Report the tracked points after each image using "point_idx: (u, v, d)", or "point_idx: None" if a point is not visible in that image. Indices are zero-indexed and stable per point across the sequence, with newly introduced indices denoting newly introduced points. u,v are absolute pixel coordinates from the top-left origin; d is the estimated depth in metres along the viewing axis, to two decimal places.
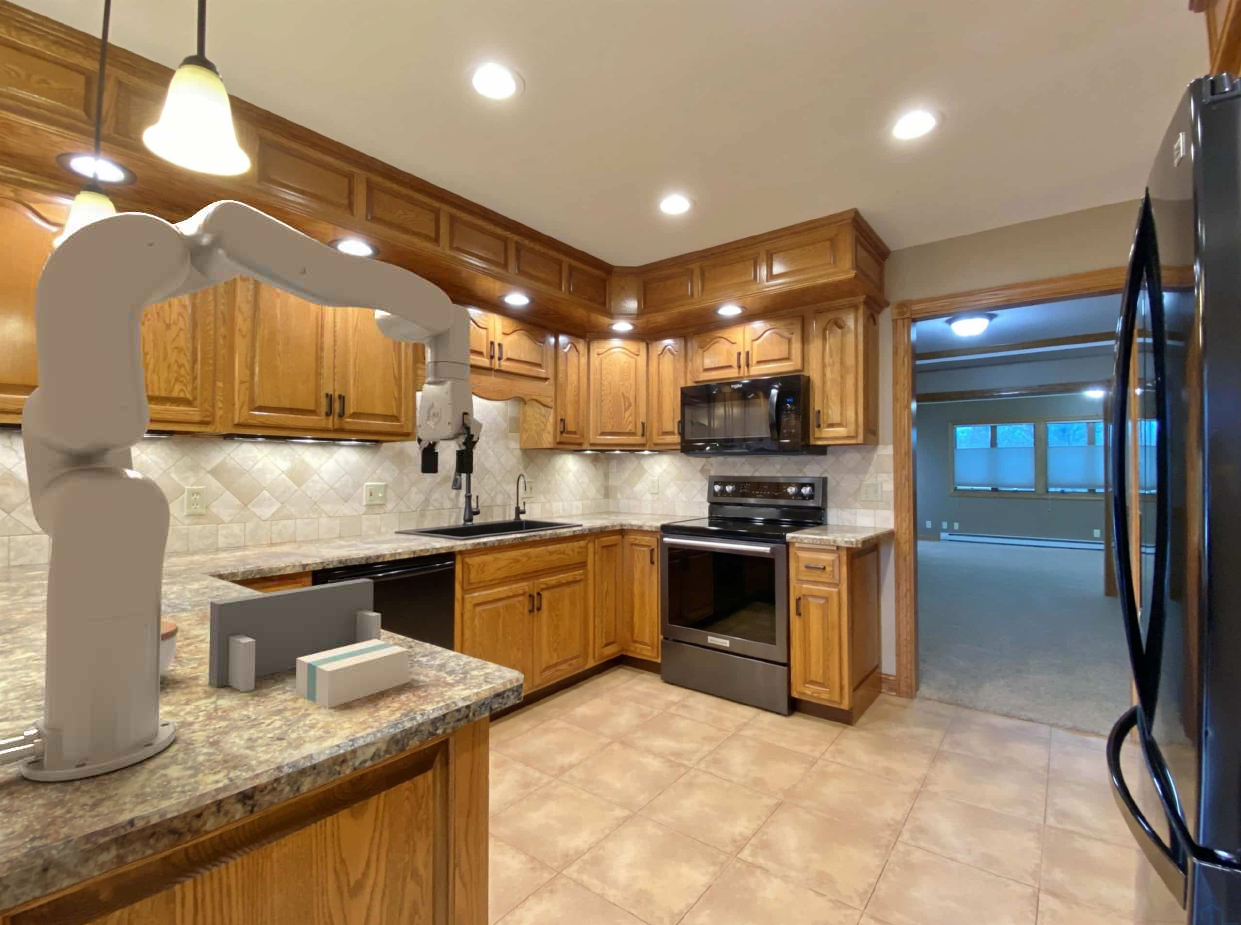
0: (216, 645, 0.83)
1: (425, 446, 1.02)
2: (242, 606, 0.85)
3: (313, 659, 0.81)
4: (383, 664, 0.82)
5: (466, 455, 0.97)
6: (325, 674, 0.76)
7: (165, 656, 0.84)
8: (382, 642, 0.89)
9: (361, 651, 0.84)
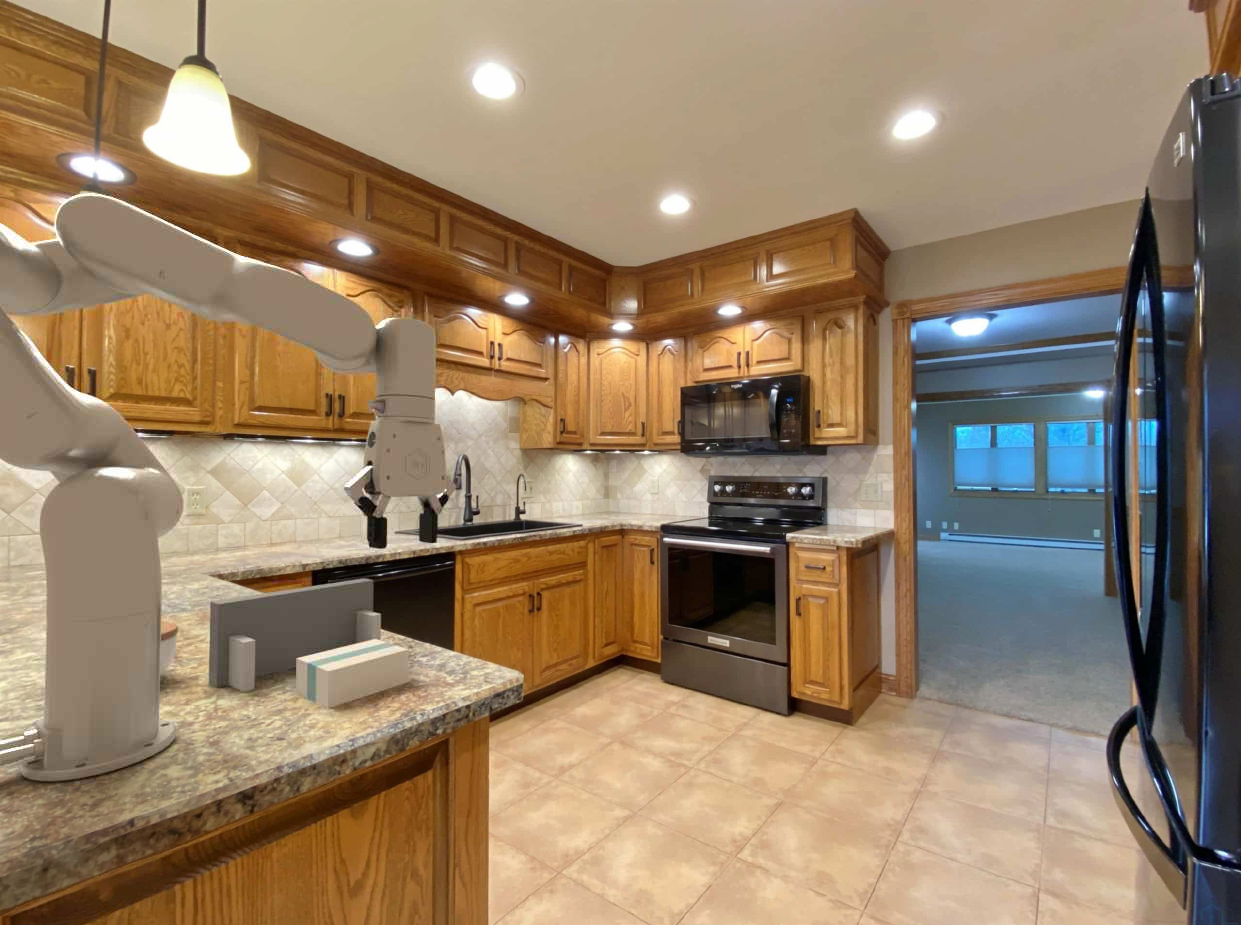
0: (216, 645, 0.83)
1: None
2: (242, 606, 0.85)
3: (313, 659, 0.81)
4: (383, 664, 0.82)
5: None
6: (325, 674, 0.76)
7: (165, 656, 0.84)
8: (382, 642, 0.89)
9: (361, 651, 0.84)
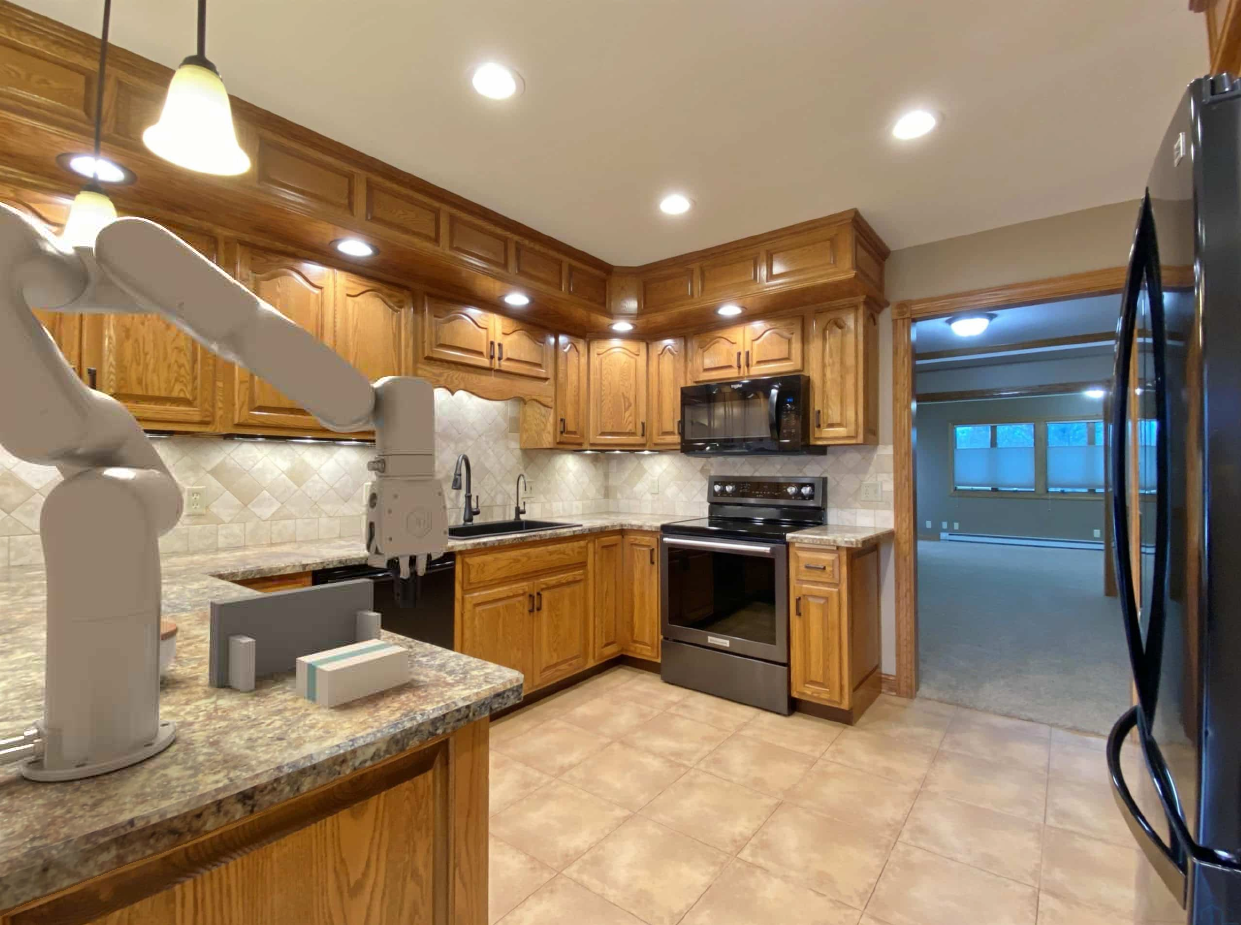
0: (216, 645, 0.83)
1: None
2: (242, 606, 0.85)
3: (313, 659, 0.81)
4: (383, 664, 0.82)
5: None
6: (325, 674, 0.76)
7: (165, 656, 0.84)
8: (382, 642, 0.89)
9: (361, 651, 0.84)
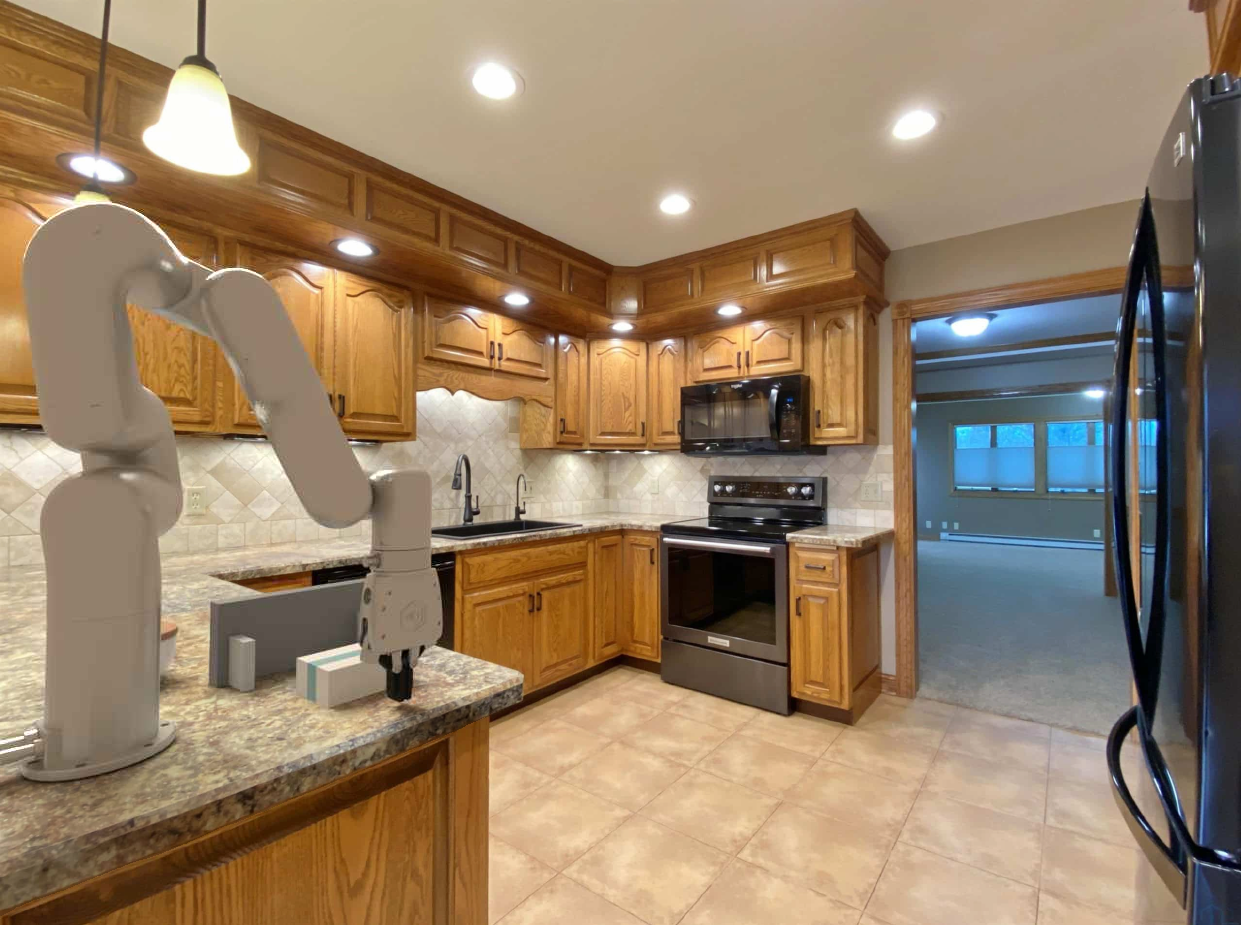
0: (216, 645, 0.83)
1: None
2: (242, 606, 0.85)
3: (313, 659, 0.81)
4: None
5: None
6: (325, 674, 0.76)
7: (165, 656, 0.84)
8: None
9: None
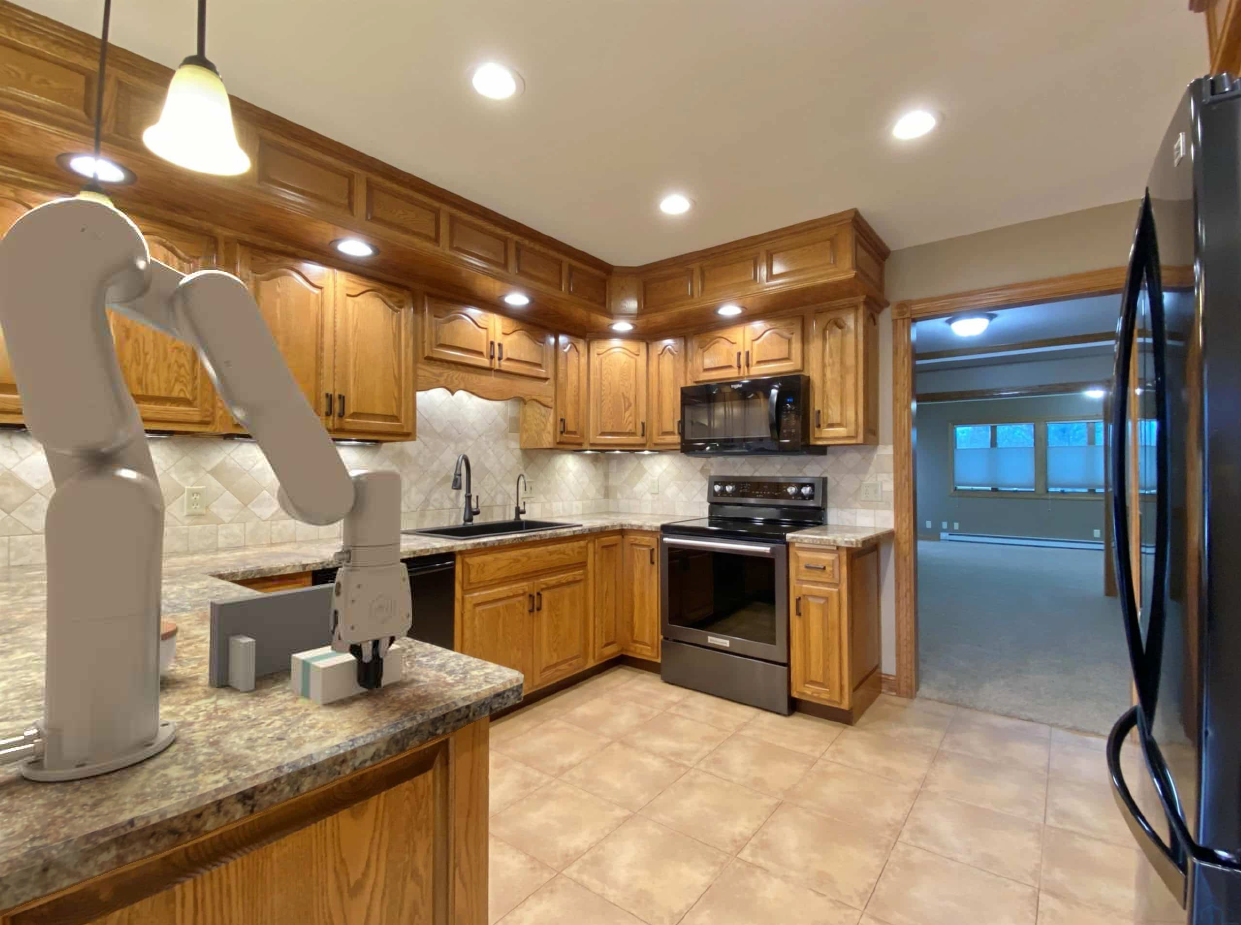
0: (216, 645, 0.83)
1: (370, 650, 0.80)
2: (242, 606, 0.85)
3: (307, 656, 0.82)
4: None
5: None
6: (319, 671, 0.77)
7: (165, 656, 0.84)
8: None
9: None
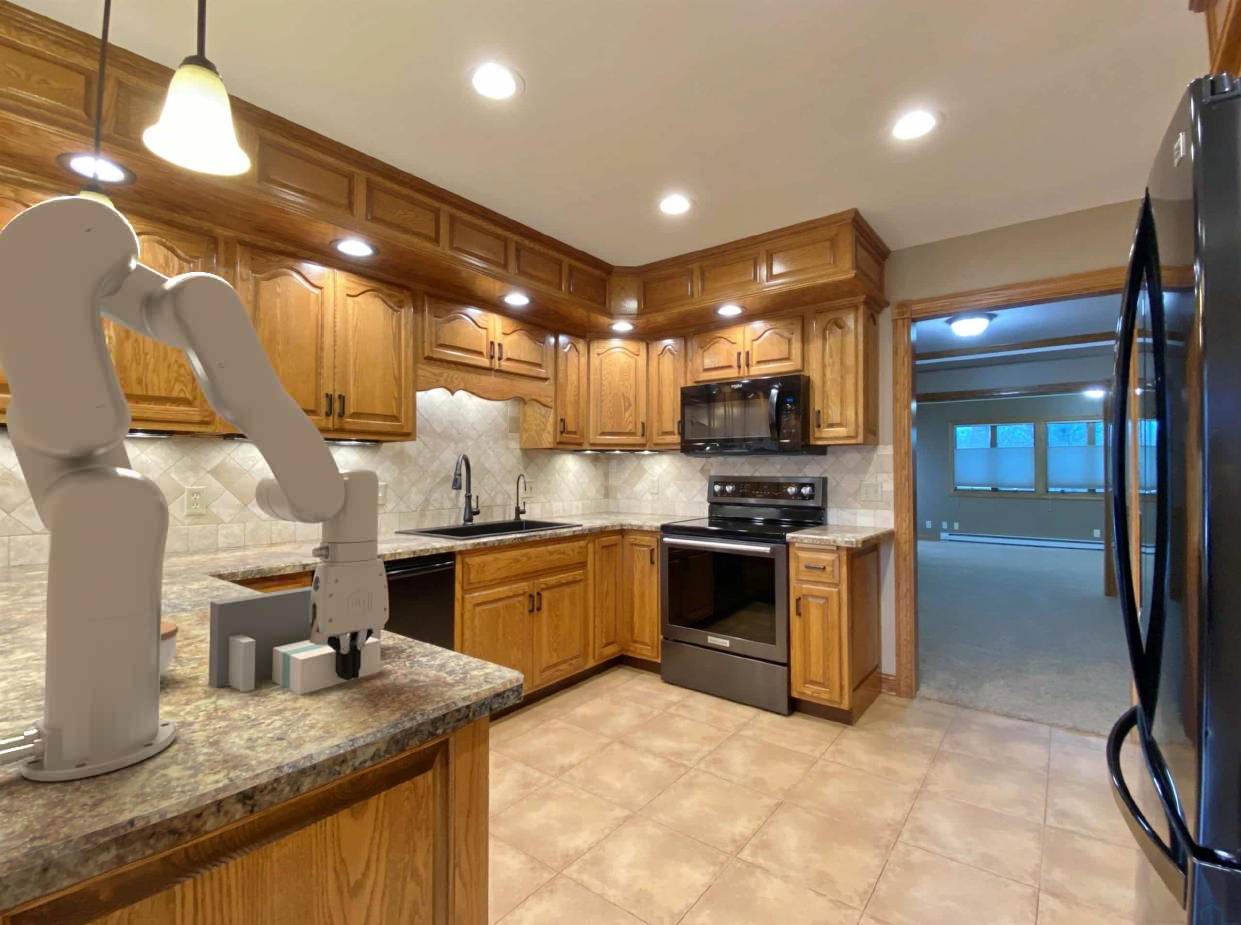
0: (216, 645, 0.83)
1: None
2: (242, 606, 0.85)
3: (288, 648, 0.85)
4: None
5: None
6: (298, 662, 0.81)
7: (165, 656, 0.84)
8: None
9: None
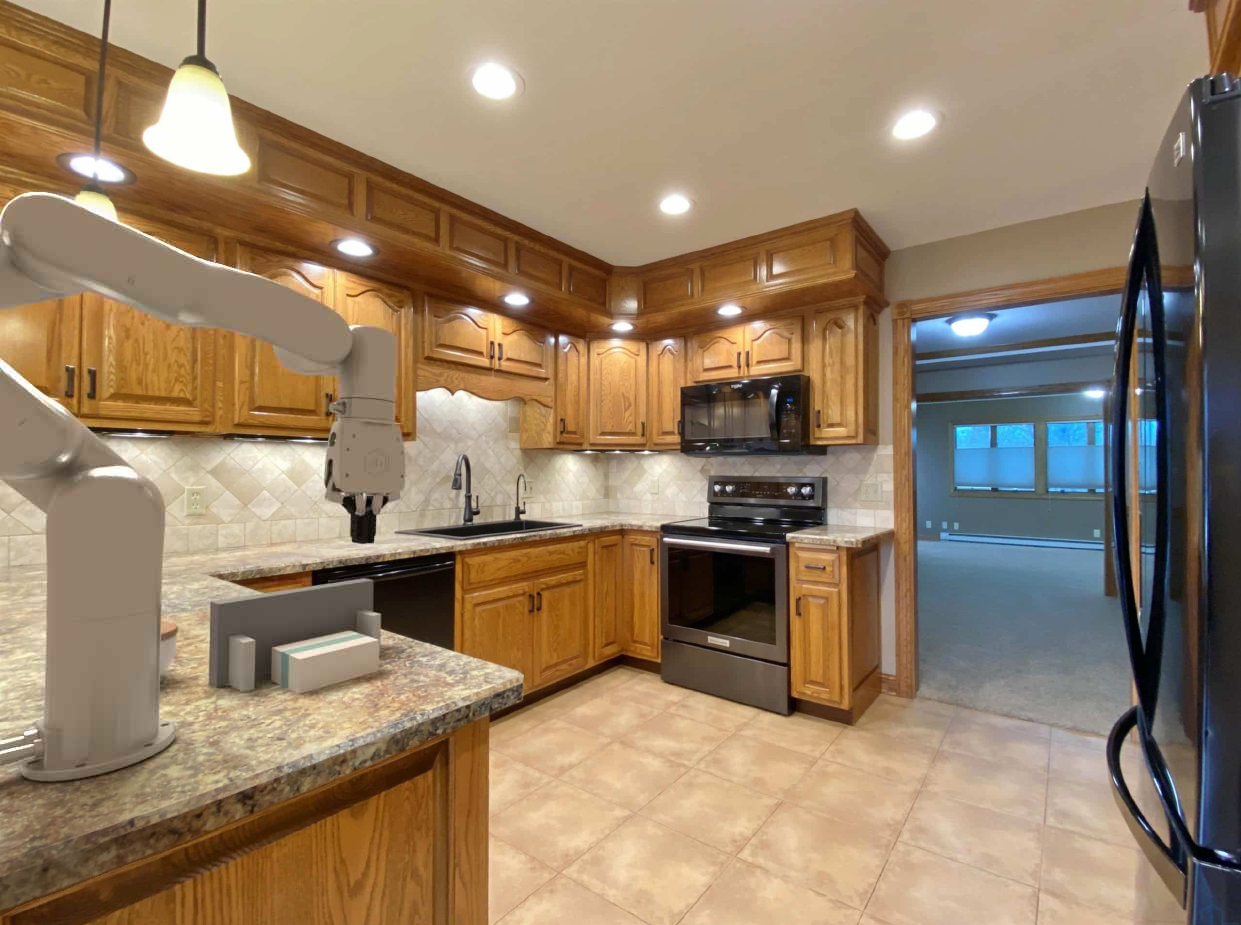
0: (216, 645, 0.83)
1: None
2: (242, 606, 0.85)
3: (287, 648, 0.86)
4: (353, 653, 0.87)
5: None
6: (297, 662, 0.81)
7: (165, 656, 0.84)
8: (355, 633, 0.94)
9: (333, 642, 0.89)
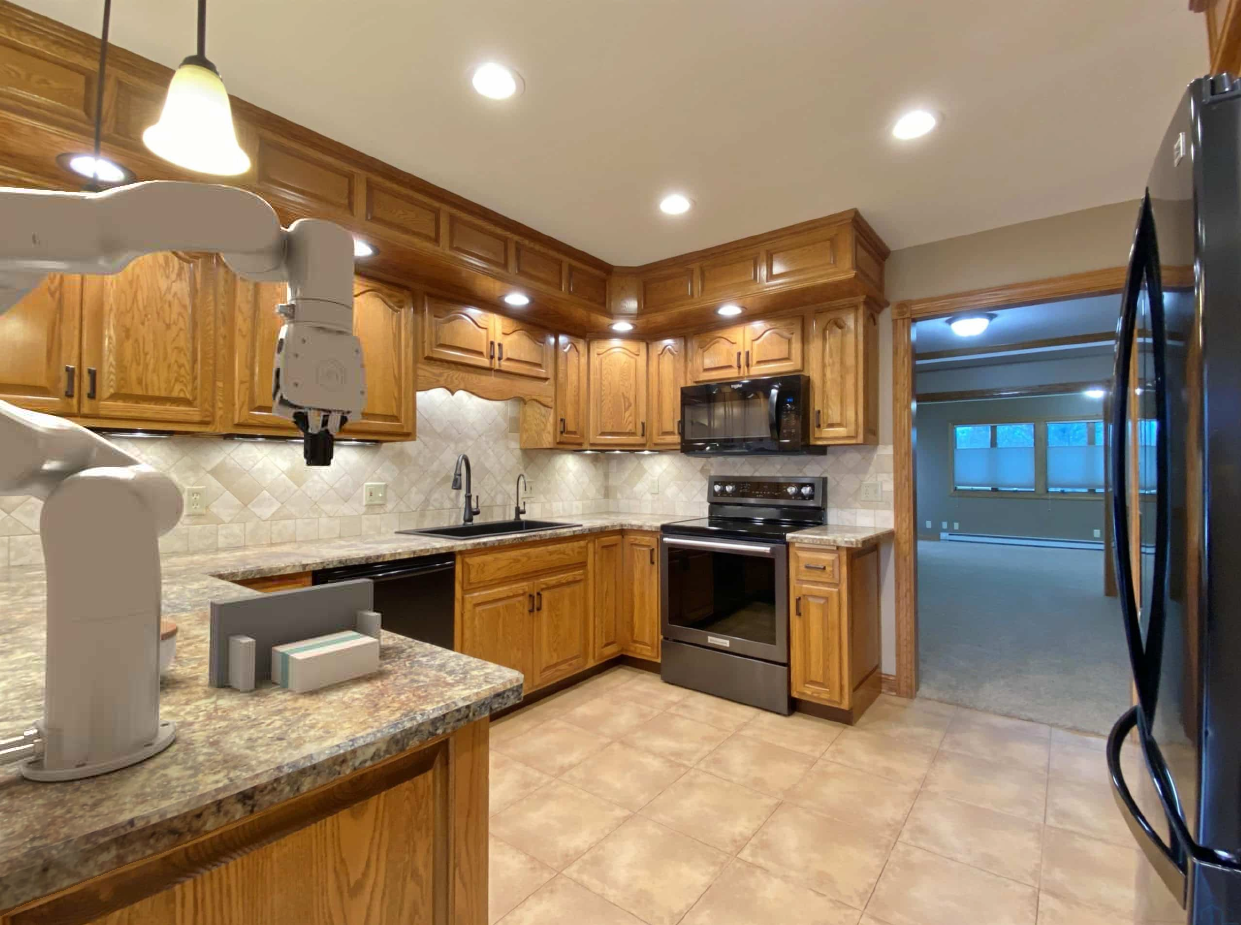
0: (216, 645, 0.83)
1: None
2: (242, 606, 0.85)
3: (287, 648, 0.86)
4: (354, 653, 0.87)
5: None
6: (297, 662, 0.81)
7: (165, 656, 0.84)
8: (355, 633, 0.94)
9: (333, 642, 0.89)
